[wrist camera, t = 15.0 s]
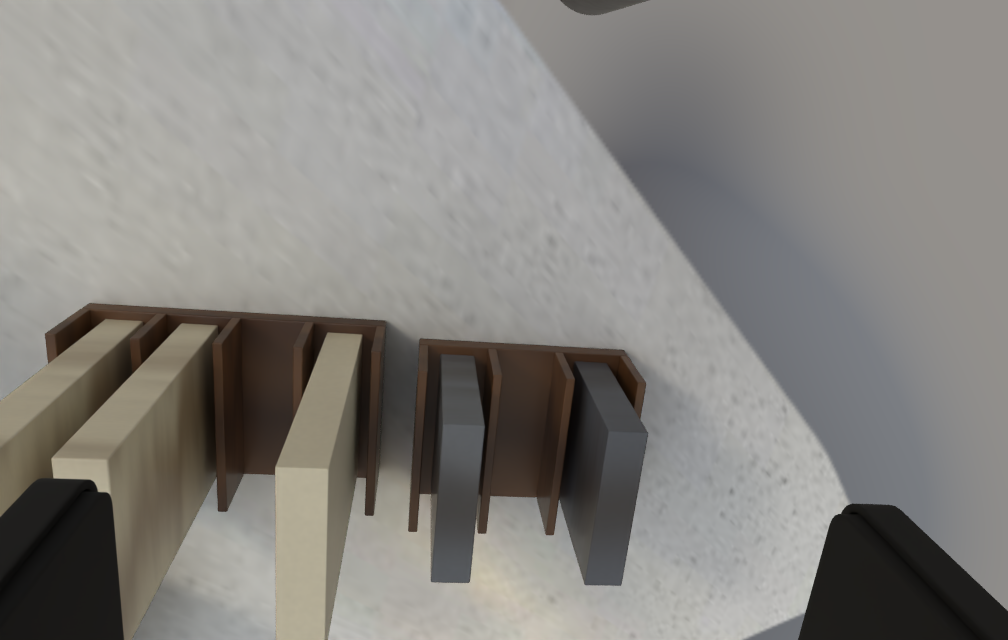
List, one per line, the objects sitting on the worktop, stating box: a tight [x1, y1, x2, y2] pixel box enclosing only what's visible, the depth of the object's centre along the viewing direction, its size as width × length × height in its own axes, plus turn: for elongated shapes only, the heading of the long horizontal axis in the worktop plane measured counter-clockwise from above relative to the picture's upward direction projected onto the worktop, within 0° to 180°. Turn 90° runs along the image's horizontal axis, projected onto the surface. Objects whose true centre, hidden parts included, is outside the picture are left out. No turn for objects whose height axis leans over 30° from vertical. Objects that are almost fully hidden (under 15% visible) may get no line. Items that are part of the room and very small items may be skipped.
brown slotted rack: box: [408, 339, 648, 586], centre depth 41 cm, size 10×12×10 cm
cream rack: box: [0, 303, 386, 640], centre depth 36 cm, size 10×16×16 cm, turn 85°
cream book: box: [275, 333, 363, 640], centre depth 36 cm, size 9×2×15 cm, turn 175°
